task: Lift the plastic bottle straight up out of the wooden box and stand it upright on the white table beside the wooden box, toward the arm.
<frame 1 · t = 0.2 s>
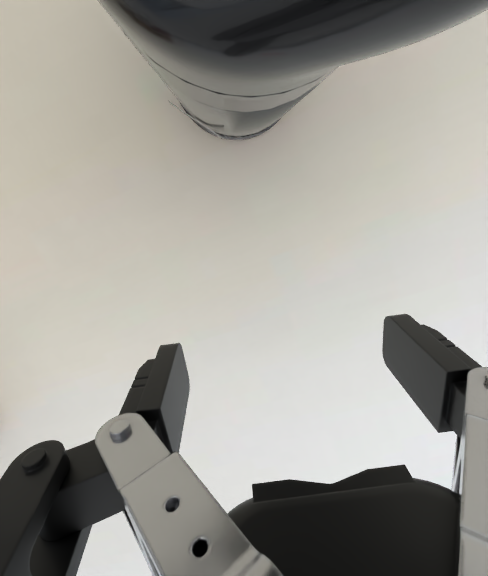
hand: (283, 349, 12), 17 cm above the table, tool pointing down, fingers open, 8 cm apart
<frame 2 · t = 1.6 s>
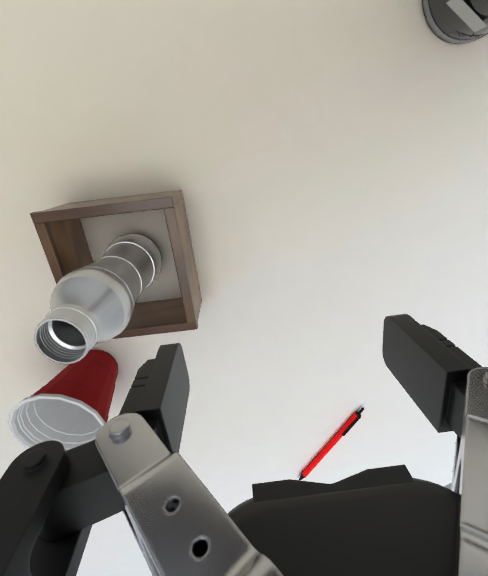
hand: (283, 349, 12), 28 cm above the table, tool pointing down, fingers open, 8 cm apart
plastic cup: (98, 366, 46), on the table
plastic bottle: (139, 255, 40), resting in wooden box
pen: (328, 443, 54), on the table
wooden box: (139, 255, 40), on the table
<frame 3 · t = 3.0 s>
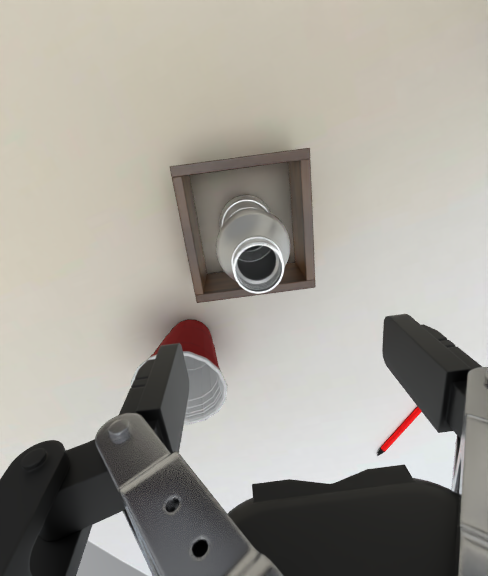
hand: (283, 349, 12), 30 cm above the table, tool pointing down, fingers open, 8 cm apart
plastic cup: (191, 337, 46), on the table
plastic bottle: (245, 219, 40), resting in wooden box
pen: (408, 415, 54), on the table
wooden box: (245, 220, 40), on the table
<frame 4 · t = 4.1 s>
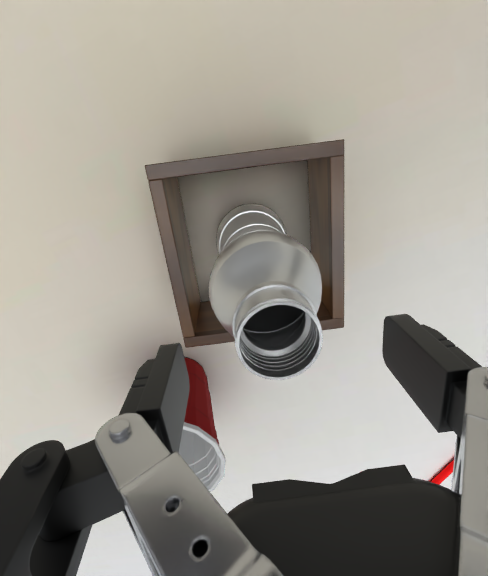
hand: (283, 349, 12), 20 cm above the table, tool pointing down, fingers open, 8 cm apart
plastic cup: (181, 377, 37), on the table
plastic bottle: (249, 234, 31), resting in wooden box
pen: (444, 466, 45), on the table
wooden box: (249, 234, 31), on the table
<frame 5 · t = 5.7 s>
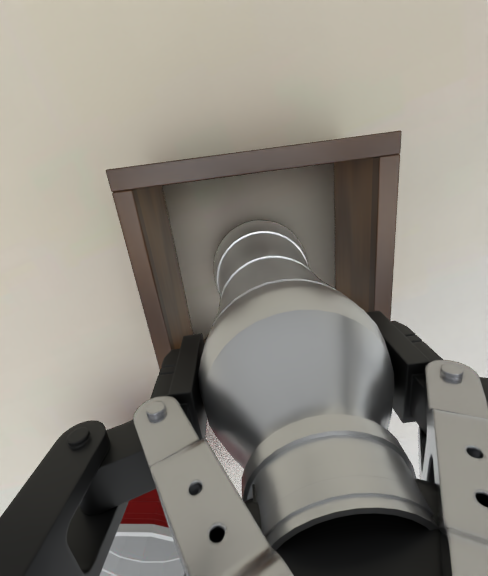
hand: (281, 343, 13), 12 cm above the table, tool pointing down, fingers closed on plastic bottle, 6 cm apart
plastic cup: (171, 429, 30), on the table
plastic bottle: (256, 257, 24), resting in wooden box, touching gripper
wooden box: (257, 258, 24), on the table
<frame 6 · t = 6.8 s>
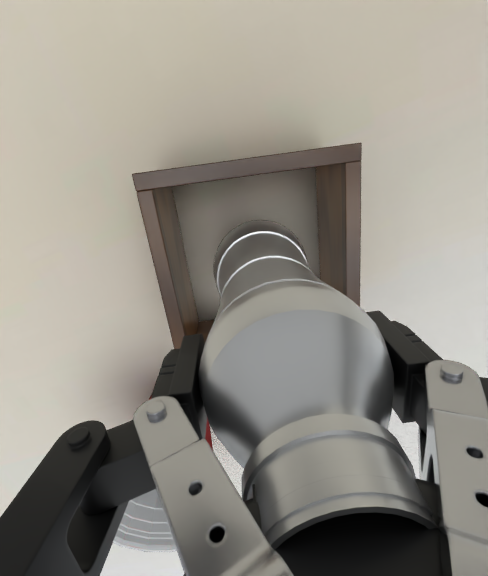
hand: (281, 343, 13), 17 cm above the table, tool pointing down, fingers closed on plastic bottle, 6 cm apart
plastic cup: (178, 402, 34), on the table
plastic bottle: (256, 257, 24), point 4 cm above the table, touching gripper
wooden box: (252, 248, 28), on the table
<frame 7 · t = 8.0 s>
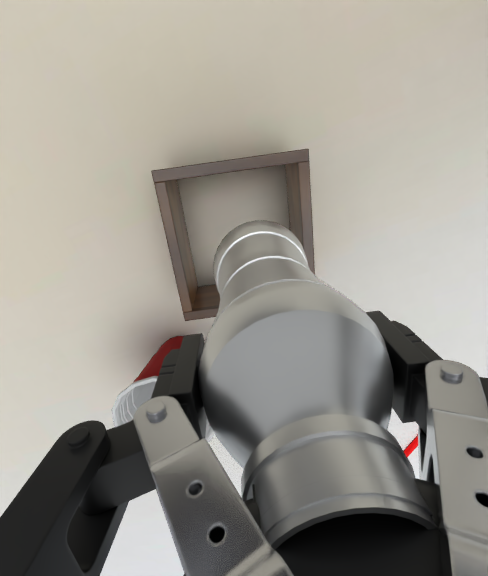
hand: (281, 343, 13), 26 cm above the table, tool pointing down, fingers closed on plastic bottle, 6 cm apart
plastic cup: (181, 354, 43), on the table
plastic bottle: (256, 257, 24), point 13 cm above the table, touching gripper
pen: (417, 434, 51), on the table
wooden box: (238, 228, 37), on the table
when the fingers open (12 cm above the table, at t = 13.1 s): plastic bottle stays where it is, on the table.
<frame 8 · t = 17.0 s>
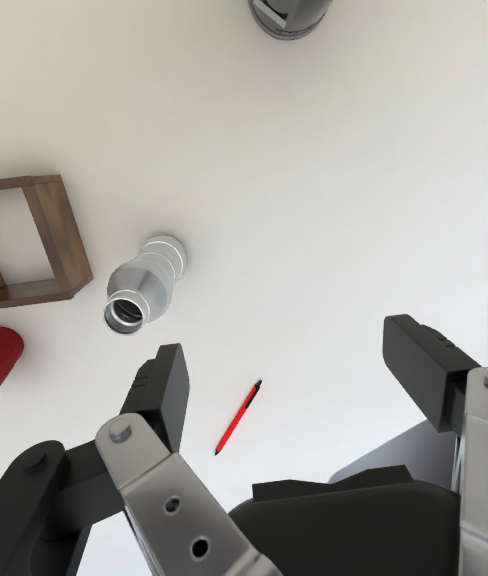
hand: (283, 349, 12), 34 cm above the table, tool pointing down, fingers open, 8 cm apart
plastic cup: (6, 343, 50), on the table
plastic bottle: (167, 254, 46), on the table
pen: (236, 417, 58), on the table
wooden box: (29, 236, 44), on the table
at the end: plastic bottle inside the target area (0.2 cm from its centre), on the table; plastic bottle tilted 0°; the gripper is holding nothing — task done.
